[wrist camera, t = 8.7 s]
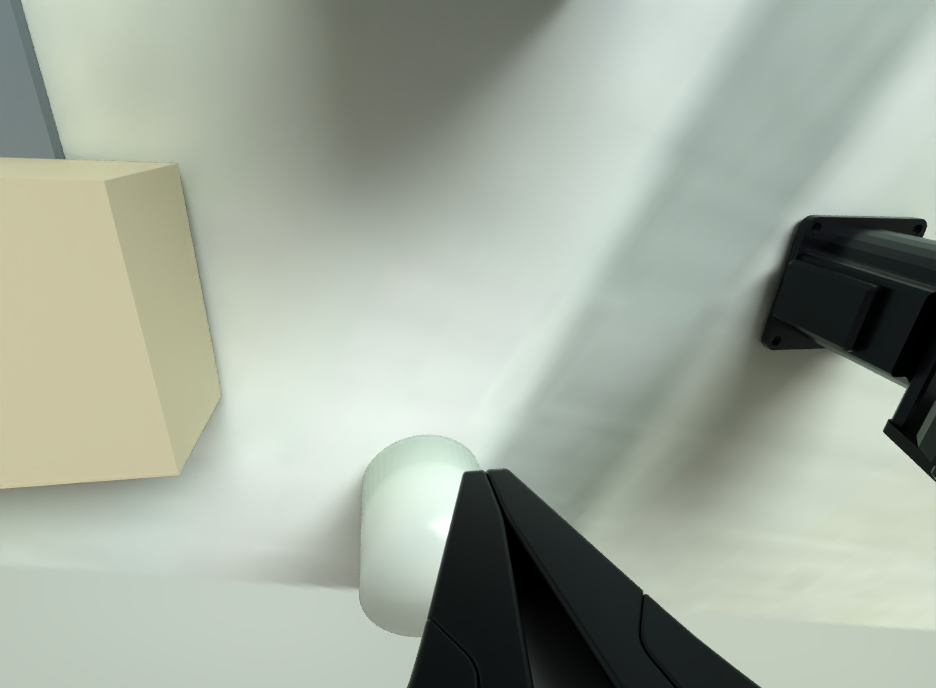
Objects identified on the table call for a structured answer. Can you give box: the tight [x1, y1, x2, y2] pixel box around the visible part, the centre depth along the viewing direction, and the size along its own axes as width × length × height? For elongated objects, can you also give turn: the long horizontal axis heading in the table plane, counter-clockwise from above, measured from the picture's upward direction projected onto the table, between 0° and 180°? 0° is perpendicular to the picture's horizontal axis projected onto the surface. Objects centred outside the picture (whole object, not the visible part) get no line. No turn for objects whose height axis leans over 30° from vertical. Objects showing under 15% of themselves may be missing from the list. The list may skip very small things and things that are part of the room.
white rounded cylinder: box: [359, 435, 480, 637], centre depth 22 cm, size 6×6×6 cm
